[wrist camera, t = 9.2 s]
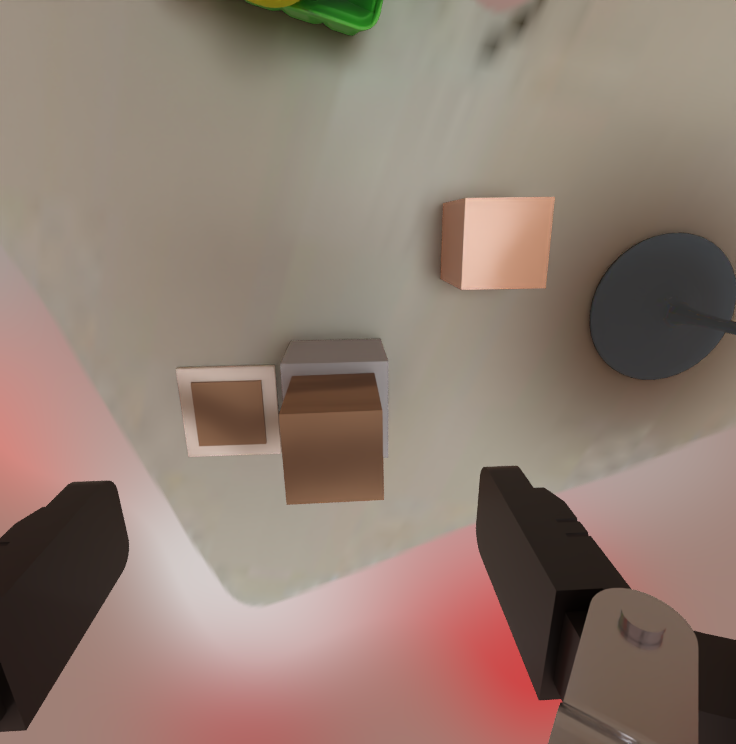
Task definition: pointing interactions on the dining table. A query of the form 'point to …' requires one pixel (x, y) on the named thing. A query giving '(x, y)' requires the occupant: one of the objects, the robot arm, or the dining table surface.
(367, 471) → the walnut block
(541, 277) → the terracotta block
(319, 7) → the fruit basket
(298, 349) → the grey block
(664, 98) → the dining table surface
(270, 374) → the tile
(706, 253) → the cocktail glass
